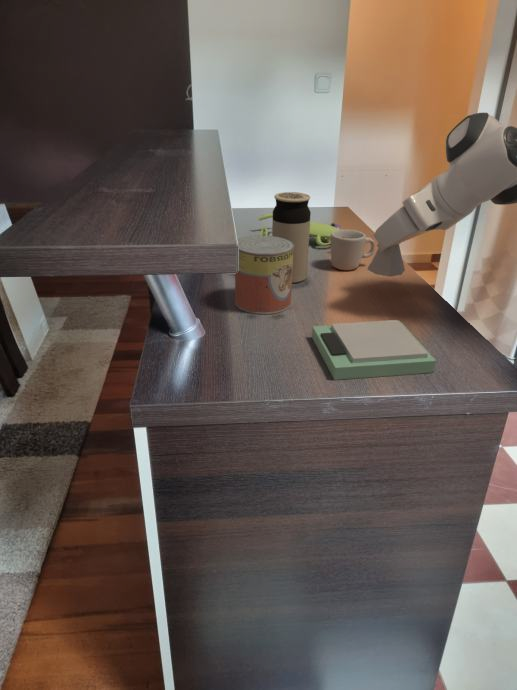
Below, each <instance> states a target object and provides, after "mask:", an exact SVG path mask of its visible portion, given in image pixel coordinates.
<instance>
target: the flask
mask: <svg viewBox="0 0 517 690" xmlns="http://www.w3.org/2000/svg"><path fill="white" fill-rule="evenodd" d="M367 271H369V272H370V273H373V274H374V275H377V276H383V277H396V276H397V277H398V276H402V275H403V274H404V272H405V271H406V269H405V265H404V261H403V256H402V252H401V247H400V244H396V245H394V246H391V247H389V248H388V249H386V250H384V251H380V249H379V248H378V247H377V249H376V252H375V254H374V255H373V258H372V260H371V262H370V264H369V265H368V267H367Z"/></svg>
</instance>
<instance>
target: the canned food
mask: <svg viewBox="0 0 517 690" xmlns="http://www.w3.org/2000/svg"><path fill="white" fill-rule="evenodd" d="M237 240H238V245H239V271H238V273H236V274H235V273H234V290H235V291H234V293H235V294H234V295H235V297H234V298H235V299H234V304H235V306H236V308H238V309H239V310H241V311H243V312H246V313H249V314H254V315H273V314H279V313H282V312H284V311H287V310H288V309H290V307H291V306H292V285H293V283H292V268H293V248H294V244H293V242H291V241H290V240H288V239H285V238H281V237H275V236H272V235H267V236H265V235H263V236H259V235H251V236H246V237H242V238H239V239H237Z"/></svg>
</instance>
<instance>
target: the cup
mask: <svg viewBox="0 0 517 690" xmlns="http://www.w3.org/2000/svg"><path fill="white" fill-rule="evenodd" d="M367 243H370V249H369V251H368V252H366V253H365V252H364V249H365V246H366V244H367ZM375 249H376V242H375V240H374V239H372V237H367V236H366V234H365V233H364V232H362V231H359V230H355V229H340V230H336V231H333V232H332V233H331V244H330V262H331V265H332V267H333V268H334V269H337V270H341V271H353V270H356V269H357V268H359V266H360V264H361V260H363V259H365V258H370V257H371V256H373V254H374V253H375Z"/></svg>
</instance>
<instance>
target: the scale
mask: <svg viewBox="0 0 517 690" xmlns="http://www.w3.org/2000/svg"><path fill="white" fill-rule="evenodd" d="M311 339H312V340H313V343H314V344H315V347H316V348H317V350H318V352H319V355H320V356H321V358H322V359H323V362H324V364H325V365H326V367H327V369H328V371H329V373H330V375H331V376H332V378H333V380H334V381H339V380H341V381H342V380H353V379H367V378H379V377H380V378H381V377H392V376H393V377H394V376H406V375H408V376H409V375H419V374H433V373H434V372H435V369H436V364H437V363H436V362H437V360H436V358H434V357H433V356H432V354H431V353H430V352H429V351H428V350H427V349H426V348H425V347H424V345H422V343H420V341H419V340H418V338H416V337H415V336H414V334H413V333H412V332H411V331H410V330H409V329H408V327H406V325H404V324H403V322H402V321H400V320H398V319H391V320H390V319H389V320H374V321H373V320H371V321H357V322H340V323H330V325H313V326H312V329H311Z"/></svg>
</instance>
